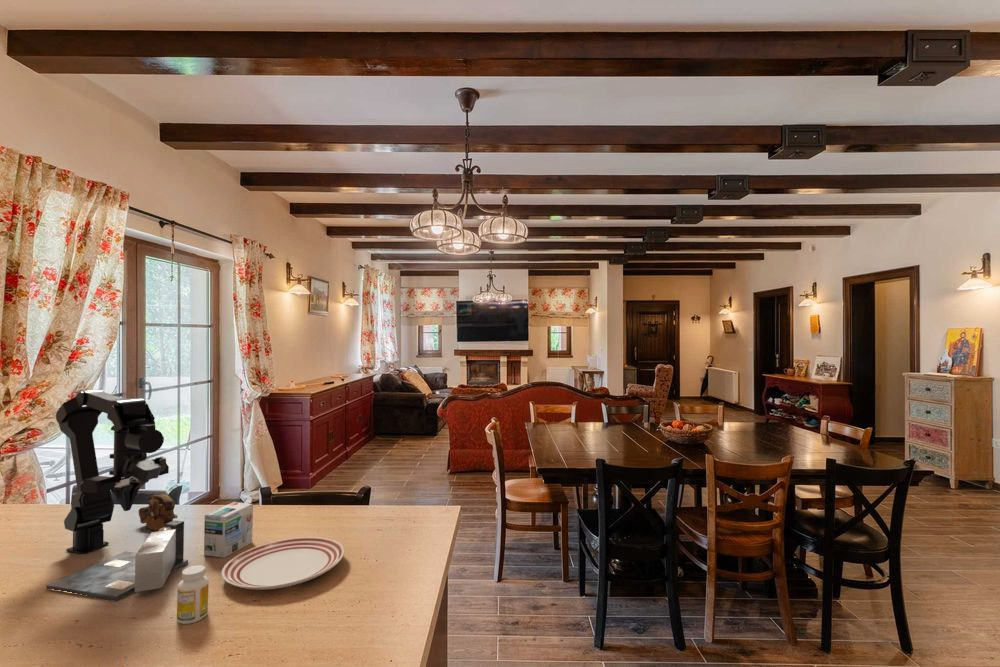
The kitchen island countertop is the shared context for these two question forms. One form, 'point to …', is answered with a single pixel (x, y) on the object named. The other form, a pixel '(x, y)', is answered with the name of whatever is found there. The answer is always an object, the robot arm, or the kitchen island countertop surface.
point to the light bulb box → (228, 529)
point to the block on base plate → (115, 573)
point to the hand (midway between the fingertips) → (127, 510)
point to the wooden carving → (158, 512)
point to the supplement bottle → (192, 595)
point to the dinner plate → (283, 563)
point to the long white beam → (155, 559)
